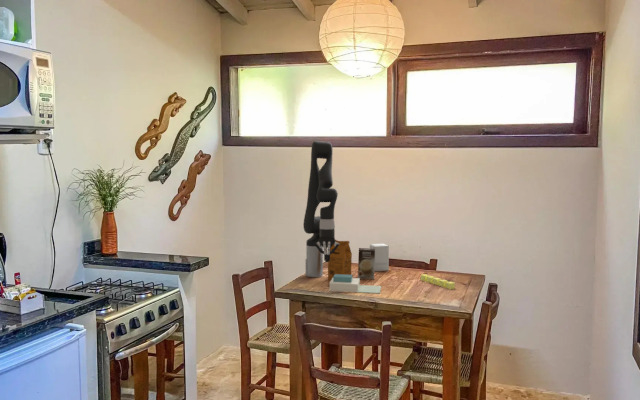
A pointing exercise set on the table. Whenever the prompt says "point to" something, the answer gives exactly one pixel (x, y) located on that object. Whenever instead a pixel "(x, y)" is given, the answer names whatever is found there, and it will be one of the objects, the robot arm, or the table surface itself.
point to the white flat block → (345, 286)
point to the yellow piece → (438, 281)
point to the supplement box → (381, 257)
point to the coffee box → (366, 263)
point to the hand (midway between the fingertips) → (327, 261)
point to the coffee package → (340, 260)
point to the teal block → (342, 278)
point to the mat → (369, 289)
